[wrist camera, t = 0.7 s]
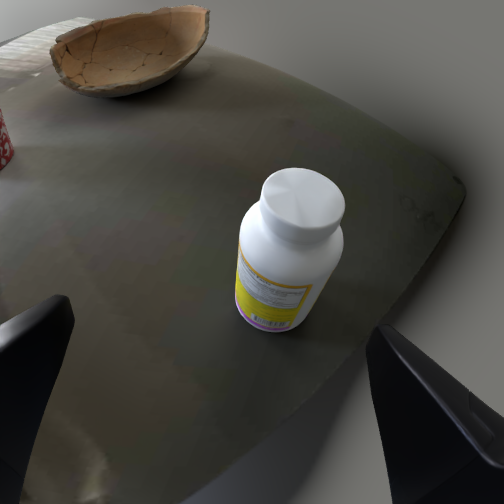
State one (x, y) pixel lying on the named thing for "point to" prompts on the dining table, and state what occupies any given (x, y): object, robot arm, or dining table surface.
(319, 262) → the supplement bottle
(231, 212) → the dining table surface
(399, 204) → the dining table surface
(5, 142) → the mug
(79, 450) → the dining table surface
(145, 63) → the ceramic bowl
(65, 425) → the dining table surface
